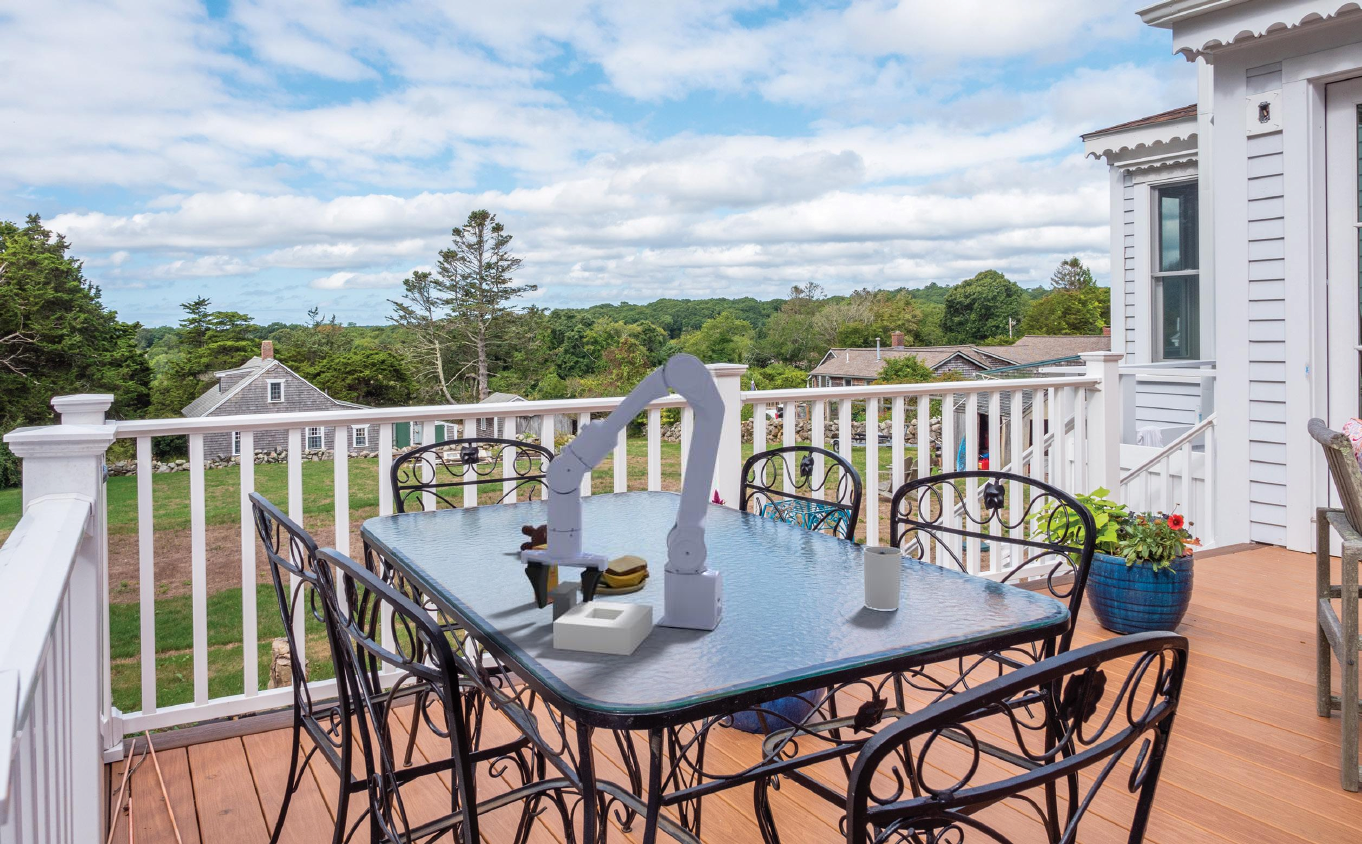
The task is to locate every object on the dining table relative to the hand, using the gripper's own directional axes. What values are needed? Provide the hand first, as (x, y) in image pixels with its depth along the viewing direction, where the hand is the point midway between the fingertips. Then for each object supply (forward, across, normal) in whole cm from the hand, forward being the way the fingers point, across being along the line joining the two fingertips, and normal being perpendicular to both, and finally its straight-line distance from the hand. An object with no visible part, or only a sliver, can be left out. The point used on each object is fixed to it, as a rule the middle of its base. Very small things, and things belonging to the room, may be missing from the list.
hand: (564, 609), depth 148 cm
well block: (+2, +9, -6) cm, 12 cm away
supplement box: (+2, -8, +10) cm, 13 cm away
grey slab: (+2, 0, 0) cm, 2 cm away
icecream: (+3, -21, +44) cm, 49 cm away
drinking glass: (+2, +50, +22) cm, 55 cm away
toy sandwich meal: (+3, +1, +24) cm, 24 cm away
